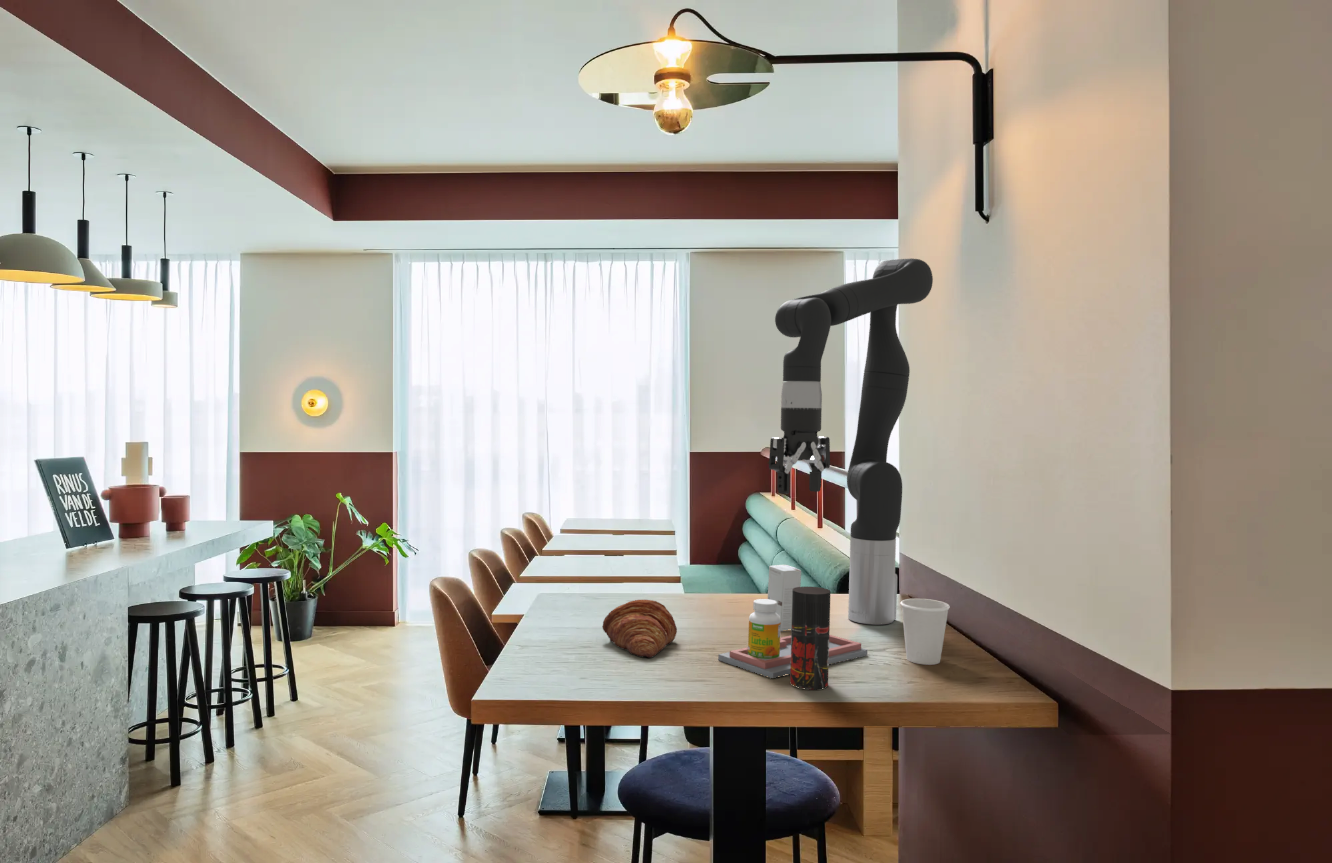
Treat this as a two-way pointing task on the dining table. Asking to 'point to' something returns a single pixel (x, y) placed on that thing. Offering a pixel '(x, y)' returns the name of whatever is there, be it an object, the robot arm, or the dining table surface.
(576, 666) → the dining table surface
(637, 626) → the pastry
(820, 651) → the deodorant
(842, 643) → the pink-rimmed grey tray
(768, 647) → the supplement bottle
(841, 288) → the robot arm
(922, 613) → the dixie cup
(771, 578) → the skincare box
